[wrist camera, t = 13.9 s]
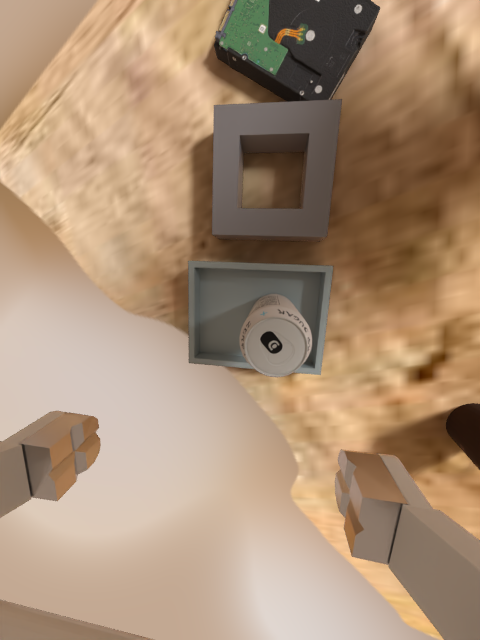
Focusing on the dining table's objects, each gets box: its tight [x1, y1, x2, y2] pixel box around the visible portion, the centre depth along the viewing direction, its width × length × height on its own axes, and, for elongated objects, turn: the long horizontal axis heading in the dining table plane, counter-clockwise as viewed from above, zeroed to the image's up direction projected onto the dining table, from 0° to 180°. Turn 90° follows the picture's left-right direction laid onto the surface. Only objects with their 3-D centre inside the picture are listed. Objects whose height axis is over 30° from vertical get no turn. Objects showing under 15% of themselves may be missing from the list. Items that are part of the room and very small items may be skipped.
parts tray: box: [188, 261, 333, 375], centre depth 32 cm, size 18×14×4 cm
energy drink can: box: [239, 294, 312, 377], centre depth 25 cm, size 6×6×15 cm
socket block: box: [212, 99, 342, 242], centre depth 28 cm, size 14×14×4 cm
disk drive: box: [214, 0, 380, 102], centre depth 26 cm, size 10×3×15 cm
